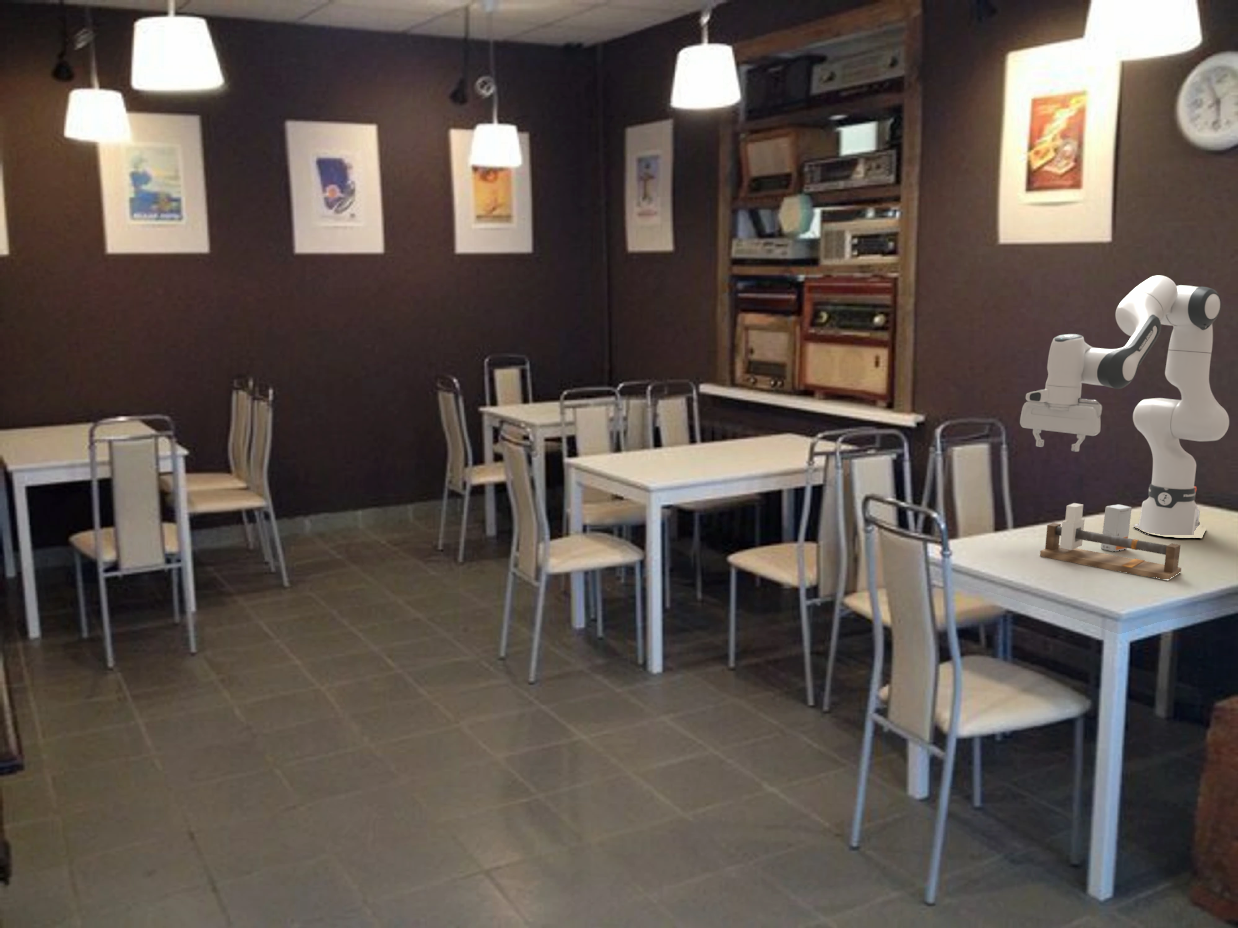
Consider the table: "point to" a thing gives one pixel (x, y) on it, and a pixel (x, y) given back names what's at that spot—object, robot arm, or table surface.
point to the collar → (1072, 527)
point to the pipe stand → (1113, 561)
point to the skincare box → (1116, 524)
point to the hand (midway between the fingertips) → (1057, 448)
